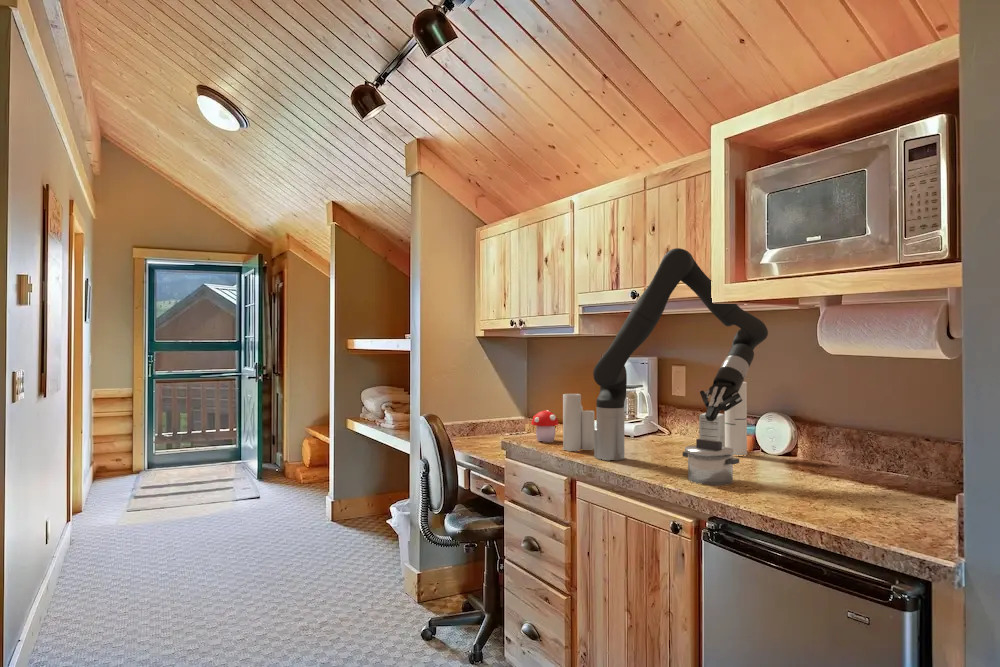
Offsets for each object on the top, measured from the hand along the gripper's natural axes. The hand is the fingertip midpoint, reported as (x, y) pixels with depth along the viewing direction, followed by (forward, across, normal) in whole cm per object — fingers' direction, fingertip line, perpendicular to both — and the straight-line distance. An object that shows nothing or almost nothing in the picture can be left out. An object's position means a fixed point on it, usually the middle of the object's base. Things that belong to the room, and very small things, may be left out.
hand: (709, 419), depth 182 cm
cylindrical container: (-18, -16, +43) cm, 49 cm away
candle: (+5, -59, +20) cm, 62 cm away
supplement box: (-22, -28, +47) cm, 59 cm away
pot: (+12, 0, +12) cm, 17 cm away
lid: (+7, 0, +6) cm, 9 cm away
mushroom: (+2, -81, +24) cm, 84 cm away
